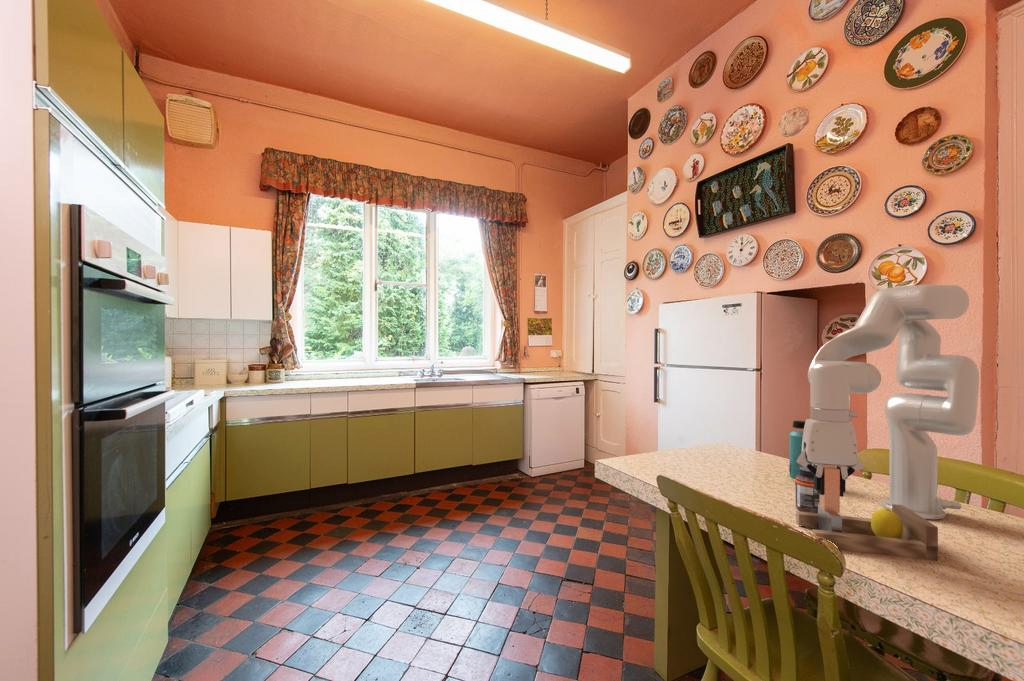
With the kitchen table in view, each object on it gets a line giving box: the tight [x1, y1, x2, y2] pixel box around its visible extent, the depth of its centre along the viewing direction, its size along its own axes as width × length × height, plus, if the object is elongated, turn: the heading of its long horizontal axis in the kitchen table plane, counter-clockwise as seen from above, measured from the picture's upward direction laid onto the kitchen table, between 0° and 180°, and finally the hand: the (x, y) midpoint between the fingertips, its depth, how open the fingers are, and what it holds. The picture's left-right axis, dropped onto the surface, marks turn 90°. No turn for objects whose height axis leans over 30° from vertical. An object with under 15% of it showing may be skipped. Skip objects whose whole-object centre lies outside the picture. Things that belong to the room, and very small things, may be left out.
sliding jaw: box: [817, 465, 843, 533], centre depth 102 cm, size 3×8×16 cm, turn 163°
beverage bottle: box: [788, 420, 813, 480], centre depth 141 cm, size 6×7×20 cm
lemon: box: [870, 507, 903, 539], centre depth 99 cm, size 6×6×8 cm
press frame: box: [795, 504, 939, 562], centre depth 100 cm, size 22×13×7 cm, turn 73°
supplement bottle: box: [794, 467, 820, 513], centre depth 118 cm, size 6×6×11 cm
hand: (829, 493), depth 102 cm, fingers closed on sliding jaw, 3 cm apart
